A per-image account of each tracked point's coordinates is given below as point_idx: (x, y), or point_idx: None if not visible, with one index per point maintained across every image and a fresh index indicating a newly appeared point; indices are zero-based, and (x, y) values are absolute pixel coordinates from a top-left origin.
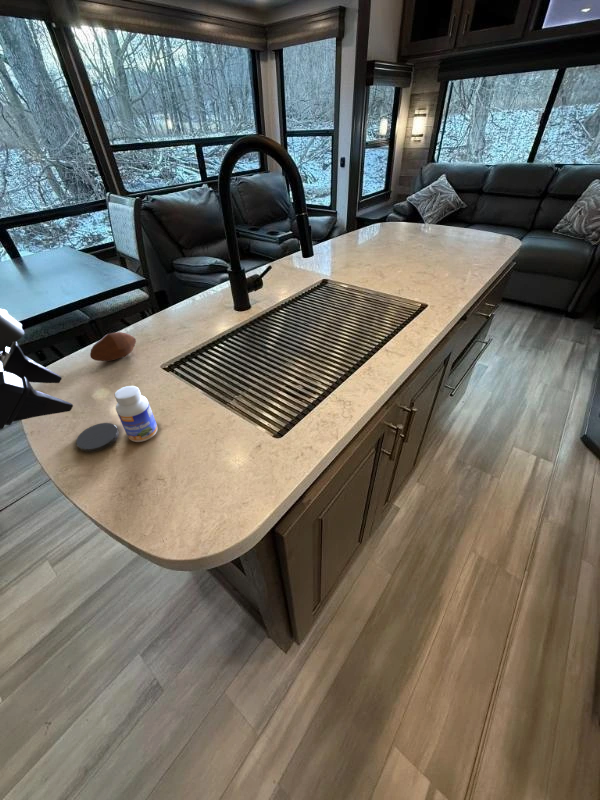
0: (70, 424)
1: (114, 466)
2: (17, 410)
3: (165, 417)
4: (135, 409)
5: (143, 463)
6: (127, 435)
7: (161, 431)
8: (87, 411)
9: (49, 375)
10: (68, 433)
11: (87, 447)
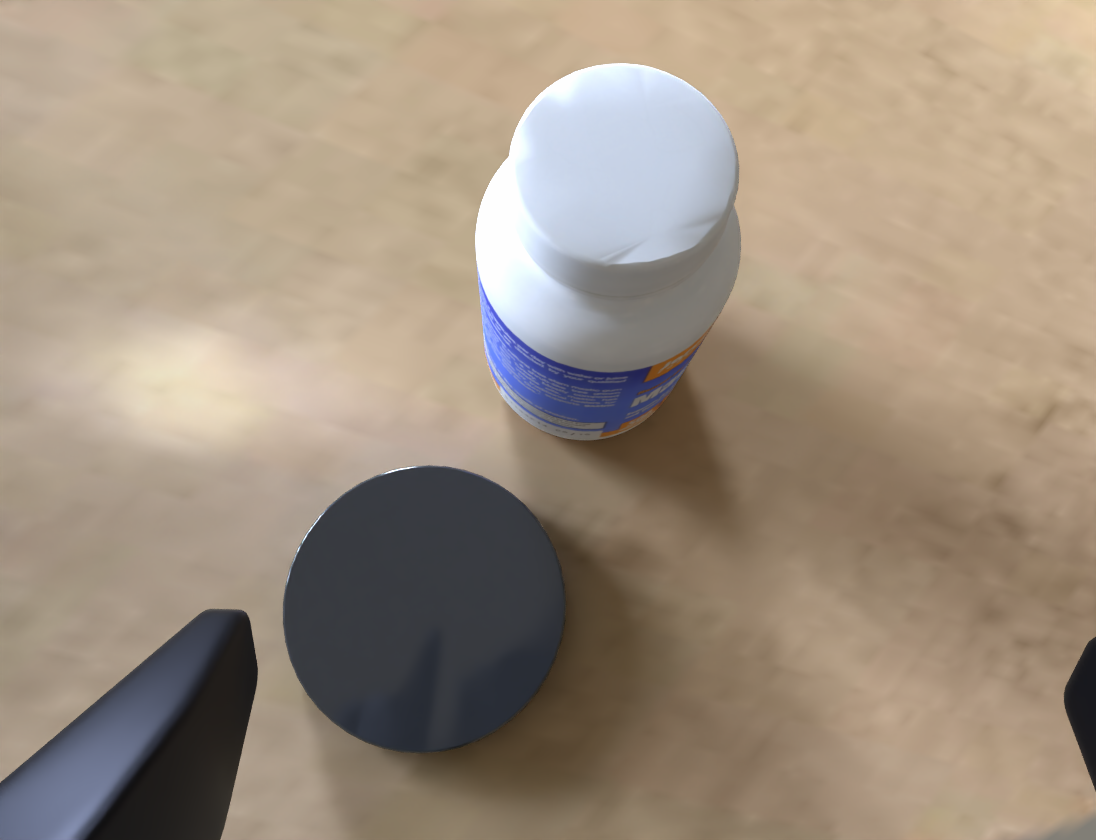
0: None
1: (775, 600)
2: None
3: None
4: (734, 231)
5: (860, 449)
6: (595, 433)
7: None
8: (25, 587)
9: (186, 761)
10: None
11: (510, 696)
